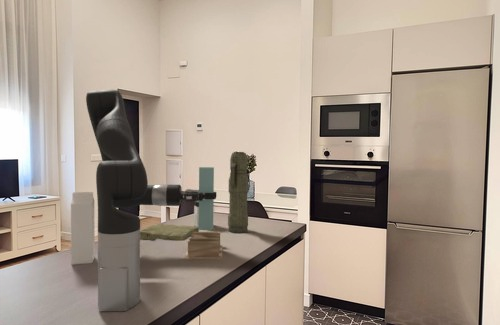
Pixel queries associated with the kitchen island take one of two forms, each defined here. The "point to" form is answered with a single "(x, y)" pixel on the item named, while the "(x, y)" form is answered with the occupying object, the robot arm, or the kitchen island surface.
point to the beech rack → (204, 246)
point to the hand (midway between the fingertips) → (215, 195)
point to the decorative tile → (167, 232)
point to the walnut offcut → (204, 236)
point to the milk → (82, 228)
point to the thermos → (238, 193)
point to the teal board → (206, 205)
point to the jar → (196, 214)
